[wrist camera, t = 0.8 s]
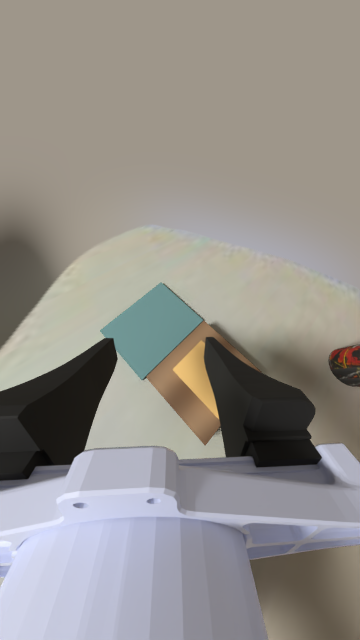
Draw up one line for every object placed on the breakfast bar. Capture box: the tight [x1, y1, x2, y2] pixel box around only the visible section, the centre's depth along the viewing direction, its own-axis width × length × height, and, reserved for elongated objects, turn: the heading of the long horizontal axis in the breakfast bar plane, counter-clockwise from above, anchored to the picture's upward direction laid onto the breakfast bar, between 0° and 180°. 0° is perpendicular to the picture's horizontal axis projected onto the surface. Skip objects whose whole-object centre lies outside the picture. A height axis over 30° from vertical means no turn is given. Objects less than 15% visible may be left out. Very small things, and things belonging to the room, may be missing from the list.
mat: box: [100, 283, 203, 380], centre depth 28 cm, size 11×14×1 cm
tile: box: [173, 340, 219, 419], centre depth 21 cm, size 8×6×2 cm
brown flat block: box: [146, 321, 261, 445], centre depth 23 cm, size 11×12×3 cm
